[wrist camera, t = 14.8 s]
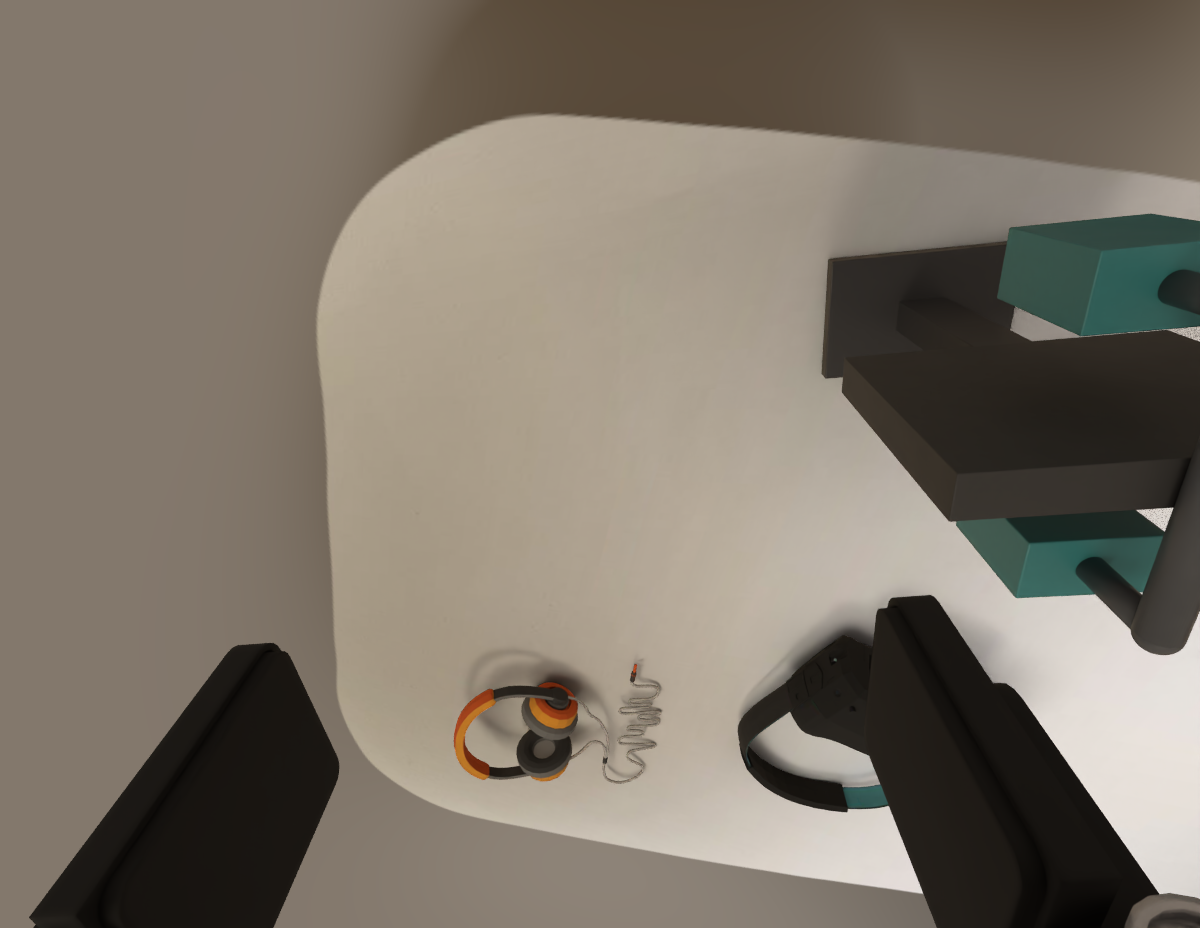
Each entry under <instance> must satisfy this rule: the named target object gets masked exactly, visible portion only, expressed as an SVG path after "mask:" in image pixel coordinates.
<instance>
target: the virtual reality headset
mask: <svg viewBox="0 0 1200 928" xmlns="http://www.w3.org/2000/svg"><path fill="white" fill-rule="evenodd" d="M872 650H873V648H871V647H869V646H867V645H865V644H862V643H860V642H858V641H856V640H855V639H853V638H851V637H848V636H845V635H842V636H841V637H840V638H838V639H837V640H836V641H834V642H833V643H832V644H830V645H829V646H828V647H826V648H825V649H824V650H822V651H821V652H820V653H818V654H817V655H816V656H814V657H813V658H812V659H811V660H810V661H809V662H807V663H806V664H805V665H803V666H802V667H801V668H799V669H798V670H797V671H796V672H795V673H794V674H793V675H792V677H791V678H790V679H789V680H787V681H786V683H785V684H784V685H782V686H781V687H779V688H778V689H776V690H775V691H773V692H772V693H771V694H769V695H768V696H766V697H765V698H763V699H762V700H761V701H760V702H758V703H757V704H756V705H754V706H753V707H752V708H751V709H750V710H749V711H748V712H747V713H746V714H745V715H744V716H743V717H742V719H741V721H740V723H739V726H738V736H739V741H740V744H739V745H740V751H741V755H742V758H743V761H744V763H745V766H746V768H747V770H748V771H749V772H750V773H751V774H752V776H753V777H754V778H755V779H756V780H757V781H758V782H760V783H761V784H762V785H763V786H764V787H765V788H767V789H768V790H770V791H772V792H773V793H775V794H777V795H779V796H781V797H783V798H785V799H787V800H790V801H793V802H796V803H798V804H802V805H805V806H809V807H813V808H818V809H824V810H830V811H838V812H847V811H848V809H873V808H880V807H885V806H889V805H888V802H887V800H886V797H885V795H884V792H883V789H882V787H881V784H880V785H875V786H868V787H842V784H837V783H830V782H823V781H817V780H811V779H807V778H803V777H799V776H795V775H793V774H790V773H787V772H785V771H782V770H780V769H778V768H776V767H774V766H772V765H771V764H769V763H768V762H766V761H765V760H763V759H762V758H760V757H759V756H758V755H757V754H756V753H755V752H754V751H753V750H752V749H751V748H750V747H749V744H750V743H751V741H752V740H753V739H754V738H755V737H756V736H757V735H758V734H759V733H761V732H762V731H763V730H764V729H766V728H767V727H768V726H770V725H771V724H773V723H774V722H776V721H777V720H779V719H780V718H781V717H783V716H784V715H786V714H787V713H788V712H791V714H792V717H793V719H794V720H795V722H796V723H797V725H798V726H799V728H800V729H801V730H802V731H804V732H805V733H807V734H810V735H812V736H816V737H822V738H826V739H830V740H833V741H836V742H838V743H841V744H843V745H846V746H848V747H850V748H853V749H855V750H857V751H860V752H862V753H864V754H867V755H869V754H868V751H867V747H866V743H865V736H864V725H865V716H866V706H867V697H868V688H869V678H870V669H871V660H872Z"/></svg>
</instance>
